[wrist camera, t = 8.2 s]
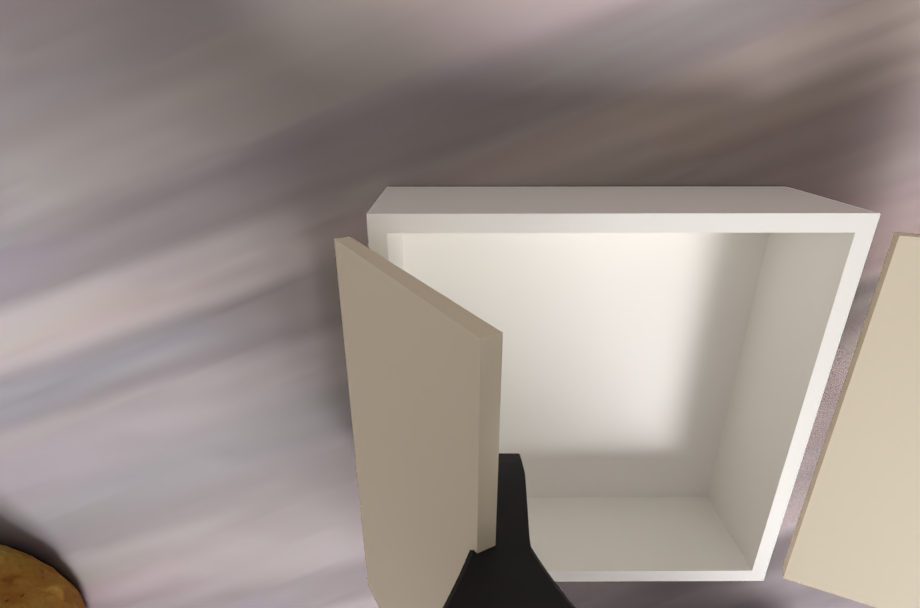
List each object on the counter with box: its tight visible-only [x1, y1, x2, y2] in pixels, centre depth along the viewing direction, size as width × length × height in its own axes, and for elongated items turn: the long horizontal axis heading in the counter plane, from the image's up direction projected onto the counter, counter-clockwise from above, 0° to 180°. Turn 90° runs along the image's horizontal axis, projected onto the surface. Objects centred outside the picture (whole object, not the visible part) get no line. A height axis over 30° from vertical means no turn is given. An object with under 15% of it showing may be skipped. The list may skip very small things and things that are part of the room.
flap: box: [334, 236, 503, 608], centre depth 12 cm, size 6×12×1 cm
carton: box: [366, 186, 881, 582], centre depth 17 cm, size 13×13×4 cm
